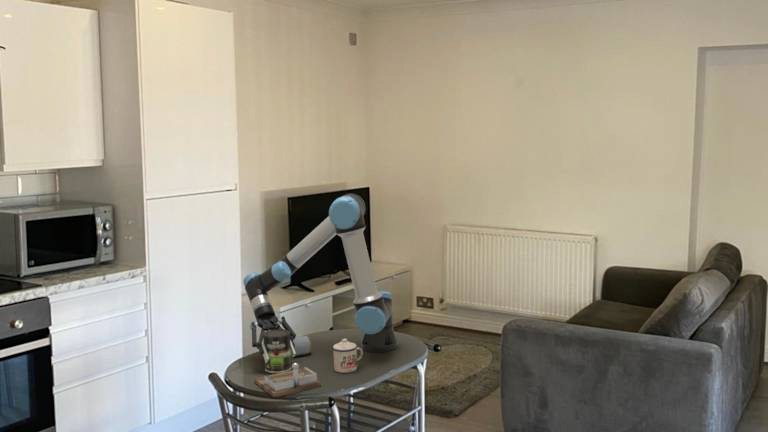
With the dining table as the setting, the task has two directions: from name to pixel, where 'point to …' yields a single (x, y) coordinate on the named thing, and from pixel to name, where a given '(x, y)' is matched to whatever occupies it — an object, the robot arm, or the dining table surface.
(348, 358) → the teacup with lid
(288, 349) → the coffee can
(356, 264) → the robot arm
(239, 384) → the dining table surface
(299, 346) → the ceramic mug
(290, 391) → the board
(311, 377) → the keeper cradle
